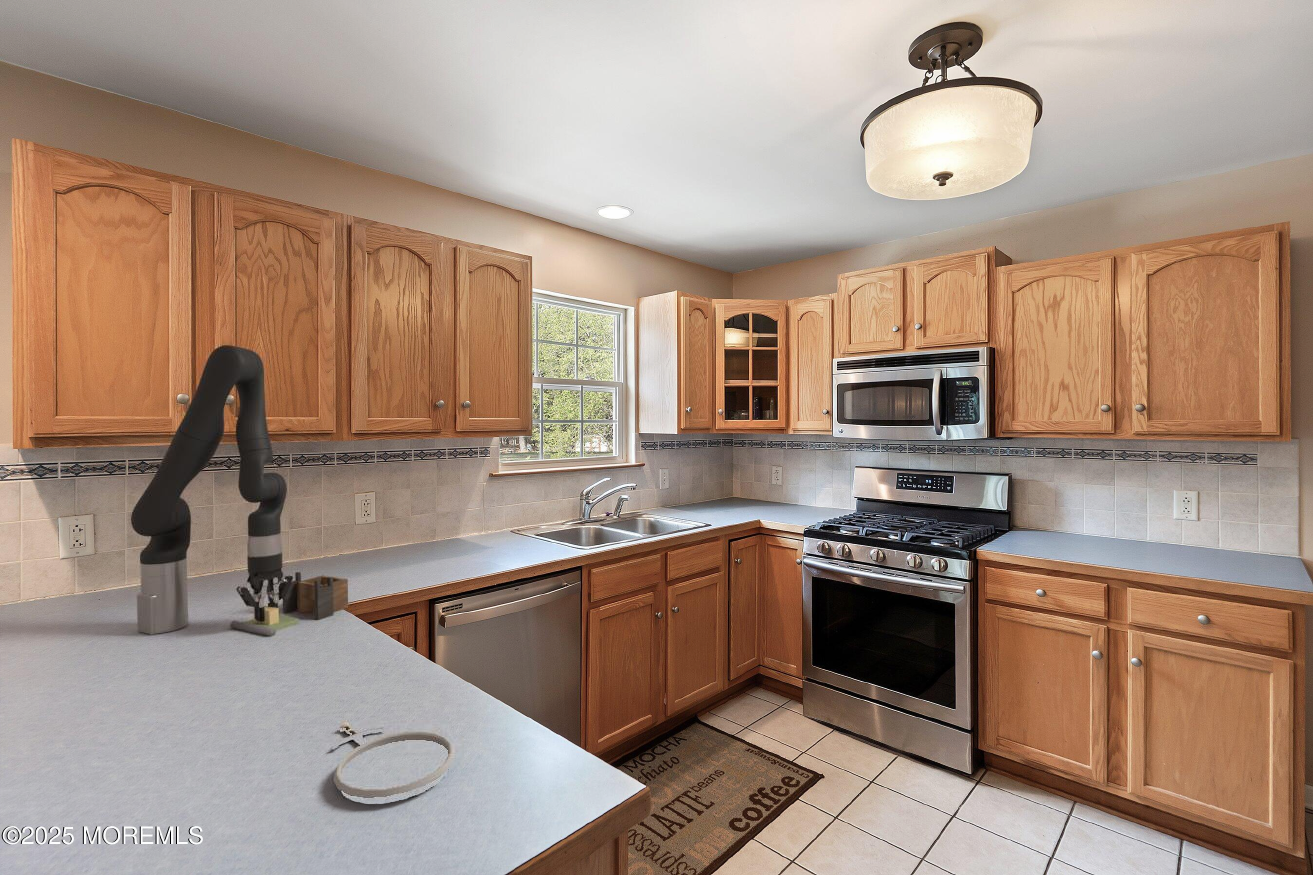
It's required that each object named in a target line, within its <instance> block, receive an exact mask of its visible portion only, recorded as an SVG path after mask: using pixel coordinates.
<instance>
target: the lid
mask: <svg viewBox="0 0 1313 875" xmlns="http://www.w3.org/2000/svg"><path fill="white" fill-rule="evenodd" d="M263 607H265V610H264V613H265V620H264V621H263V622H258V621H257V620H255V612H254V611H253V619H250V620H247V621H239V620H233V621H231V622H230V628H232V629H236V630H240V631H245V632H249V633H253V634H258V635H263V636H267V637H274V636H275V635H276V633H277V631H281V630H285V629H288V628H290V627H293V626H296V625H299V618H297V617H292V616H287V615H283V614H282V615H281V614H279V612H280V611H279V610H280V608H279V607H278V608H274V607H269V606H268V605H264V606H263Z"/></svg>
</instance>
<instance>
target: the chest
mask: <svg viewBox="0 0 1313 875" xmlns="http://www.w3.org/2000/svg"><path fill="white" fill-rule="evenodd" d="M301 573H302V572H300V571H297V572H296V571H295V572H294V576H295V579H294V580H292V582H291V584H290V587H289V589H288V592H287V594H286V597H285V598H284V599H282V613H283V614H289V613H292V612H295V611H297V612H300V613H301V612H302V613H305V614H311V615H314V619H315V620H316V621H319V620H322V619H325V618H328V617H332V616H334V613H335V612H339V611H342V610H345V609H347V608H349V580H348V578H342V577H337V576H330V575H319V576H316V577H311V578H307V579H304V580H302V574H301Z"/></svg>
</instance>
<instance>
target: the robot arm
mask: <svg viewBox="0 0 1313 875" xmlns="http://www.w3.org/2000/svg"><path fill="white" fill-rule="evenodd" d="M264 369H265V368H264V363H263V360H262V357H261V356H260V355H259V354H258V353H257V352H255V351H254V350H251V349H248V348H244V347H240V346H236V345H232V344H226V345H225V344H223V345H220V346H218V347H216V348H215V349H214V350H213V351H212V352H211V353H210V354H209V355H208V358H207V360H206V363H205V365H204V367H203V371H202V374H201V377H200V379H199V383H198V384H197V388H196V391H195V393H194V395H193V398H192V399H191V401H190V403H189V405H188V408H187V410H186V412H185V414H184V415H183V418H182V420H181V422H180V424H179V426H178V427H177V429H176V431H175V433H174V435H173V438H172V439H171V442H170V444H169V446H168V449H167V451H166V452H165V454H164V456H163V458H162V460H161V462H160V464H159V466H158V469H157V470H156V472H155V474H154V476H153V478H152V480H151V481H150V483H149V484H148V486H147V487H146V489H145V490H144V492H143V493H142V494H141V497H140V498H139V499H138V501H137V502H136V504H135V506H134V507H133V510H132V511H131V516H130V524H131V527H132V529H133V531H134V532H135V533H137V534H138V535H139V536H143V537H150V540H149V542H148V544H147V545H146V546H145V547H144V548H143V549H142V550H141V551H140V553H139V568H140V569H139V571H140V572H139V573H140V575H139V576H140V592H138V593H137V594H136V610H137V611H136V612H137V617H136V618H137V632H139V633H142V634H143V633H144V634H148V635H151V636H152V635H157V634H161V633H162V634H163V633H169V632H173V631H174V632H175V631H176V630H177V631H178V630H180V629H183V628H186V626H188V625H189V602H188V601H189V600H188V599H189V597H188V595H189V594H188V560H187V558H188V556H187V552H188V549H189V548H190V545H191V529H192V528H191V527H192V525H191V524H192V518H191V517H192V516H191V514H192V513H191V508H190V507H189V505H188V503H187V501H186V500H185V499H184V498H182V497H181V496H182V494H183V492H184V491H185V489H186V488H187V486H188V485H189V484H190V483H191V482H192V481H193V479H195V478H196V477H197V475H198V474H200V473H201V472H202V470H203V469H204V468H205V467H206V466H207V465H208V464H209V463H210V461H212V459H213V457H214V456H215V454H216V452H217V450H218V448H219V445H220V443H221V441H222V440H223V437H224V432H225V406H226V402H227V400H228V398H229V396H230V394H231V392H232V390H233V388H234V387H235V388H236V391H237V394H238V400H239V401H238V402H239V407H238V408H239V409H238V416H237V420H236V426H235V439H236V444H237V449H238V453H239V458H240V461H239V462H240V464H239V470H238V472H239V473H238V482H237V483H238V484H237V485H238V491H239V493H240V495H241V497H242V498H243V500H245V501H246V502H248V503H252V504H256V503H259V506H258V508H257V509H256V510H255V511H253V512H251V513H249V515H248V516H247V542H246V553H247V554H246V557H247V558H246V560H247V562H246V563H247V573H248V577H247V580H246V582H245V583H244V584H242V586H239V585H238V586H237V587H236V590H235V591H237V594H238V595H239V597H240V598H241V600H242V601H243V603H244V604H245V606H246V607H252V608H253V613H254V612H255V620H257V621H258V622H263V621H264V620H265V613H264V610H265V607H263V606H265V605H264V604H265V598H266V597H267V600H268V601H267V602H268V603H267V606H269V607H274V608H279V602H280V601H281V600H283V599H284V598H285V597H286V594H287V592H288V589H289V587H290V584H291V582H292V581H293V579H294V577H293V575H288V574H284V571H283V570H282V569H283V562H284V561H283V538H282V533H281V532H282V530H281V527H282V526H281V523H282V522H281V516H282V512H283V509H284V505H285V502H286V497H287V493H288V487H287V486H288V485H287V482H286V479H285V478H284V477H283V476H282V475H281V474H280V473H278V472H264V468H265V464H268V463H270V462H272V460H273V459H274V458H273V457H274V452H273V448H272V443H271V439H270V438H271V437H270V434H269V429H268V428H269V427H268V424H267V423H268V422H267V415H266V400H265V399H266V398H265V397H266V396H265V373H264V372H265V370H264ZM251 589H252V591H251ZM251 592H252V593H251Z"/></svg>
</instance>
